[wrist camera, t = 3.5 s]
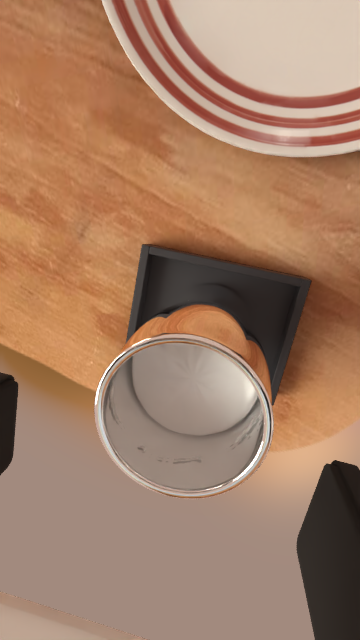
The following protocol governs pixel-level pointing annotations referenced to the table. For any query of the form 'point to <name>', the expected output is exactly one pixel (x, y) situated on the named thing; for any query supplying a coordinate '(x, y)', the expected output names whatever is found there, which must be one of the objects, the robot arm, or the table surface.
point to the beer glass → (189, 398)
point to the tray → (247, 281)
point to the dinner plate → (252, 68)
